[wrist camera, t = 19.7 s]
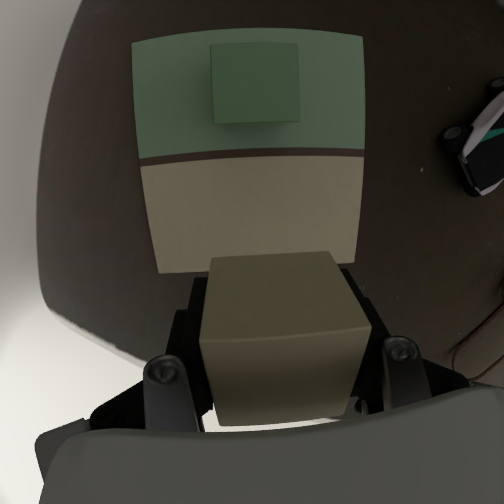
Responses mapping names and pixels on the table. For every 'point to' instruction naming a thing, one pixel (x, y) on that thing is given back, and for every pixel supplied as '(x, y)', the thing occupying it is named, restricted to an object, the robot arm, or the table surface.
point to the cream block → (280, 338)
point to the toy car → (480, 145)
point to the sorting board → (249, 153)
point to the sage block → (255, 82)
